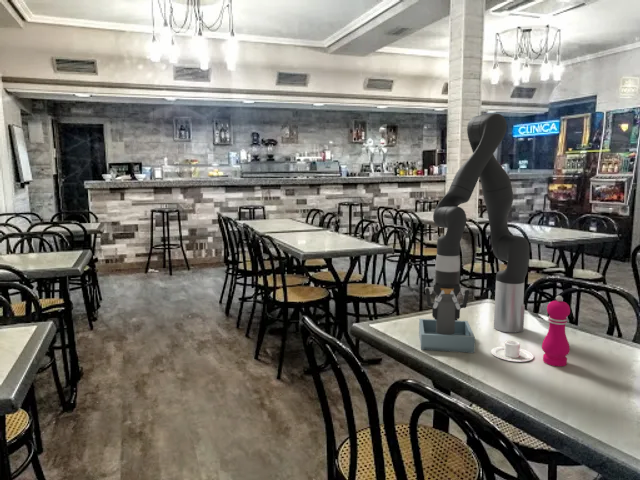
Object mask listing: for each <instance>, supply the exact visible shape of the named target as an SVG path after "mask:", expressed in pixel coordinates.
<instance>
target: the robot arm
mask: <svg viewBox="0 0 640 480" xmlns="http://www.w3.org/2000/svg"><path fill="white" fill-rule="evenodd" d="M507 127H508V125H507V120H506V118H505V117H504V116H503V115H502V114H500V113H497V112H496V113H488V114H482V115H475V116H473V117H471V118H470V119H469V121H468V123H467V126H466V132H467V133H466V135H467V137H468V142H469V145H470V148H471V150H472V154H471V155H470V156H469V158H467V160H466V161H465V162H464V163H463V164H462V165H461V166H460V167H459V169H458V170H457V172H456V173H455V175H454V177H453V180H452V182H451V184H450V187H449V189H448V191H447V192H446V193H445V194H444V196H443V197H442V199H441V200H440V201H439V202H438V204H437V205H436V207H435V209H434V211H433V213H432V214H433V215H432V220H433V223H434V224H435V225H436V226H437V227H439V228H443V229H444V228H445V229H446V232H445V235H441V236H438V238H437V241H436V256H435V257H436V258H435V265H434V266H435V267H434V270H435V272H434V273H435V274H434V275H435V276H434V285H433V286H431V287H429V286H425V287H424V291H425V298H426V305H427V306H428V307H431V309H432V310H431V311H432V312H431V316H432V319H435V320H437V306H438V303H439V302H440V301H441V299H442V297H441V295H442V294H445V293H444V290H441V288H454V291H451V293H450V294H452V295H454V296H453V297H452V299H453V301H454V303H455V306H456V309H455V321H457V320H459V319H460V318H461V317H460V316H461V315H460V314H461V309H465V308H467V306H468V305H467V304H468V301H469V295H470V290H469V288H468V287H467V288H466V287H464V288H462V287H461V286H460V275H461V258H460V254H461V252H460V251H461V250H460V249H461V240H462V238H463V234H464V231H465V227H466V225H467V213H466V211H465V210H464V208H462V207H461V206H459V205H462V204H465V203H467V202H469V201H470V199H471V197H472V194H473V193H474V190H475V187H476V185H477V183H478V181H479V180H480V185H481V190H482V195H483V200H484V203H485V207H486V212H487V213H486V214H487V218H488V223H489V233H490V241H491V248H492V252H493V256H494V257H495V258H497V259H498V260H501V261H504V262H507V265H506V268H505V269H502V270H499V271H497V272H496V275H495V293H494V295H495V296H494V312H493V313H494V314H493V329H495V330H497V331H499V332H504V333H519V332H522V333H523V332H524V328H525V327H524V325H525V323H524V322H525V310H526V307H525V306H526V304H525V303H524V297H525V296H524V295H525V280H526V279H525V278H526V276H527V274H528V271H529V270H528V268H529V260H530V253H531V252H530V243H529V241H528V239H527V238H526V237H524V236H520V235H514V234H510V230H509V225H508V217H509V215H510V211H511V208H512V206H513V202H514V191H513V187H512V181H511V179H510V176H509V175H508V173H507V172H506V170H505V169H504V167H502V165H501V163H499V161H498V160H497V159H496V156H495V155H494V153H495V152H496V151H497V149H498V147H499V146H500V144H501V142H502V141H503V140H504V137H505V135H506V133H507V129H508V128H507ZM433 291H434V293H435V295H436V296H435V297H434V301H431V295H432V294H433ZM460 292H461V295H462V300H461V302H460V303H459V301H458V299H457V296H458V295H459V293H460Z"/></svg>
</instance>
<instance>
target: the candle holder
mask: <svg viewBox="0 0 640 480" xmlns="http://www.w3.org/2000/svg"><path fill="white" fill-rule="evenodd" d="M520 343H521V342H519V341H517V340H506V341H505V342H504V346H497V347H496V346H495V347H494V348H491V350H490V353H491V354H492V355H493V356H495V357H496V358H498V359H502V360H504V361H509V362H515V363H517V362H520V363H521V362H529V361H532V360H533V359H534V354H532V352H530V351H528V350H526V349H524V348H521V344H520ZM503 350H504V356H506V357H503V356H500V355H499V354H498V352H499V351H503ZM520 353H522V354H524V355H526V358H524V359H523V358H522V359H517V358H520Z"/></svg>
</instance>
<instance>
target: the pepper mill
mask: <svg viewBox="0 0 640 480" xmlns="http://www.w3.org/2000/svg"><path fill="white" fill-rule="evenodd" d="M546 312H547V314H548V319H547V321H548V323H549V325H548V331H547V333H546V335H545V336H544V339H543V341H542V343H541V344H542V345H541V349H542V352H543V355H542V361H543V362H544V363H545V364H546V365H549V366H553V367H565V366H566V365H567V364H568V358H567V355H569V354H570V351H571V350H570V343H569V341H568V337H567V333H566V325H567V324H568V316H569V315H570V314H571V308H570V305H569V304H568V303H567V302H565V301H563V296H562V295H557V296H556V297H555V300H552V301H549V303H548V304H547V306H546Z"/></svg>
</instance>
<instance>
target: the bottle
mask: <svg viewBox="0 0 640 480" xmlns="http://www.w3.org/2000/svg"><path fill="white" fill-rule="evenodd" d="M441 290H444V293H445V294H442V295H441V297H442V299H441V301H440V302H439V303H438V306H437V320H436V332H437V333H439V334H443V335H452V334H454V331H455V309H456V306H455V303H454V301H453V299H452V297H453V296H454V295H452V294H450V293H451V291H454V288H441Z"/></svg>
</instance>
